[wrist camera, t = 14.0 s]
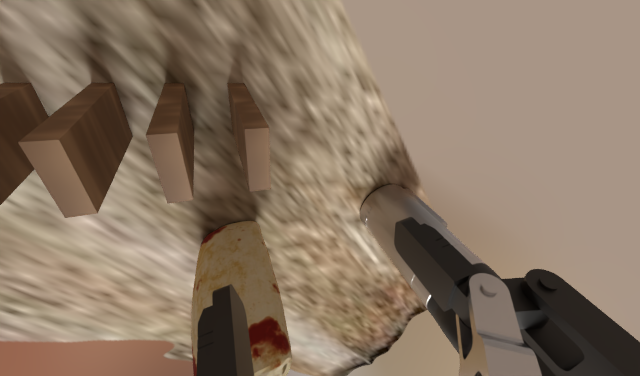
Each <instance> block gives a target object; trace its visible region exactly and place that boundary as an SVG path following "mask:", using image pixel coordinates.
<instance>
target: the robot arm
mask: <svg viewBox="0 0 640 376" xmlns="http://www.w3.org/2000/svg"><path fill="white" fill-rule="evenodd" d="M360 219H361V221H362V222H363V224H364V225H365V226H366V228H367V229H368V230H369V232H370V233H371V234H372V236H373V237H374V238H375V240H376V241H377V242H378V244H379V245H380V246H381V248H382V249H383V250H384V252H385V253H386V254H387V256H388V257H389V258H390V260H391V261H392V262H393V264H394V265H395V266H396V268H397V269H398V270H399V272H400V273H401V274H402V276H403V277H404V278H405V280H406V281H407V282H408V284H409V285H410V286H411V288H412V289H413V290H414V292H415V293H416V294H417V296H418V297H419V298H420V300H421V301H422V302H423V304H424V305H425V306H426V308H427V309H428V311H429V312H430V313H431V315H432V316H433V317H434V319H435V320H436V322H437V323H438V325H439V326H440V328H441V329H442V331H443V332H444V334H445V335H446V337H447V338H448V339H449V341H450V342H451V344H452V345H453V346H454V348H455V349H456V350H457V352H458V353H459V355H460V369H459V376H640V342H639V341H638V340H636V339H635V338H634V337H633V336H632V335H630V334H629V333H628V332H627V331H625V330H624V329H623V328H622V327H621V326H619V325H618V324H617V323H615V322H614V321H613V320H612V319H611V318H609V317H608V316H607V315H606V314H604V313H603V312H602V311H601V310H600V309H598V308H597V307H596V306H595V305H593V304H592V303H591V302H590V301H589V300H587V299H586V298H585V297H584V296H583V295H581V294H580V293H579V292H578V291H576V290H575V289H574V288H573V287H572V286H570V285H569V284H568V283H567V282H565V281H564V280H563V279H562V278H560V277H559V276H557V275H556V274H554V273H552V272H549V271H546V270H542V269H533V270H530V271H529V272H528V273H527V274H526V276H525V277H524V278H512V279H501V278H500V277H499V276H498V275H497V274H496V273H495V272H494V271H493V270H492V269H491V268H490V267H489V266H487V265H486V264H485V263H484V262H483V261H482V260H481V259H480V258H479V257H478V256H476V255H475V254H474V253H473V252H472V251H471V250H470V249H469V248H468V247H466V246H465V245H464V244H463V243H462V242H461V241H460V240H459V239H458V238H457V237H456V236H454V235H453V234H452V233H451V232H450V231H449V230H448V229H447V228H446V227H447V223H446V222H445V221H444V220H443V219H442V218H441V217H440V216H439V215H438V214H437V213H435V212H434V211H433V210H432V209H431V208H430V207H429V206H428V205H426V204H425V203H424V202H423V201H422V200H421V199H420V198H419V197H417V196H416V195H415V194H414V193H413V192H412V191H411V190H410V189H408V188H407V189H404V188H402V187H401V186H399V185H395V184H391V185H386V186H383V187H381V188H379V189H377V190H376V191H374V192H373V193H372V194H371V195H369V196H368V198H367V199H366V200H365V201H364V203H363V205H362V207H361V210H360ZM212 304H213V305H212V306H210V307H207V308H204V309H203V311H202V314H201V316H200V319H199V321H198V336H197V337H198V340H197V349H198V351H197V376H254V370H253V362H252V355H251V347H250V340H249V332H248V324H247V317H246V311H245V308H244V305H243V302H242V300H241V299H240V297H239V295H238V294H237V292H236V290H235V289H234V287H233V285H232V284H230V285H227V286H224V287H222V288H219V289H217V290H214V291H213V293H212Z"/></svg>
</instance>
